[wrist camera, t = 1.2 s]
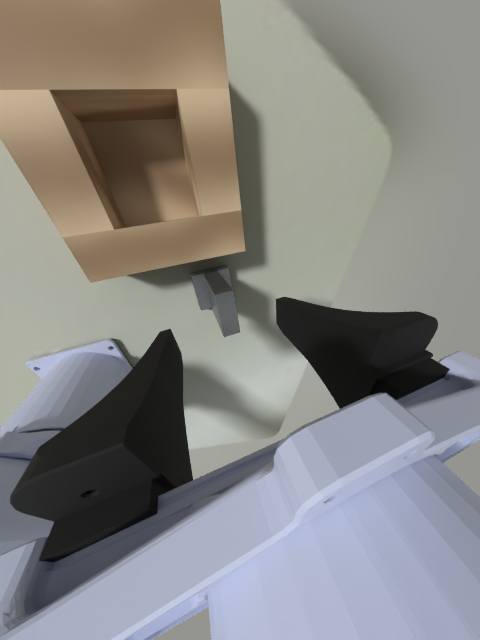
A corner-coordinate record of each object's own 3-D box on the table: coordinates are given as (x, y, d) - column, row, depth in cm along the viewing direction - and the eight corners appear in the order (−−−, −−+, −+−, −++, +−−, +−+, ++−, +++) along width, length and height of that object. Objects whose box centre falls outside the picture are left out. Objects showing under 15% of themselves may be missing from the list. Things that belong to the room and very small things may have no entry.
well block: (232, 244, 18) (245, 251, 15) (107, 269, 16) (90, 282, 13) (206, 55, 12) (219, -8, 8) (-12, 48, 9) (-113, -43, 6)
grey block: (232, 298, 21) (253, 328, 16) (199, 306, 20) (209, 341, 15) (226, 265, 19) (249, 286, 13) (190, 273, 18) (197, 299, 13)
